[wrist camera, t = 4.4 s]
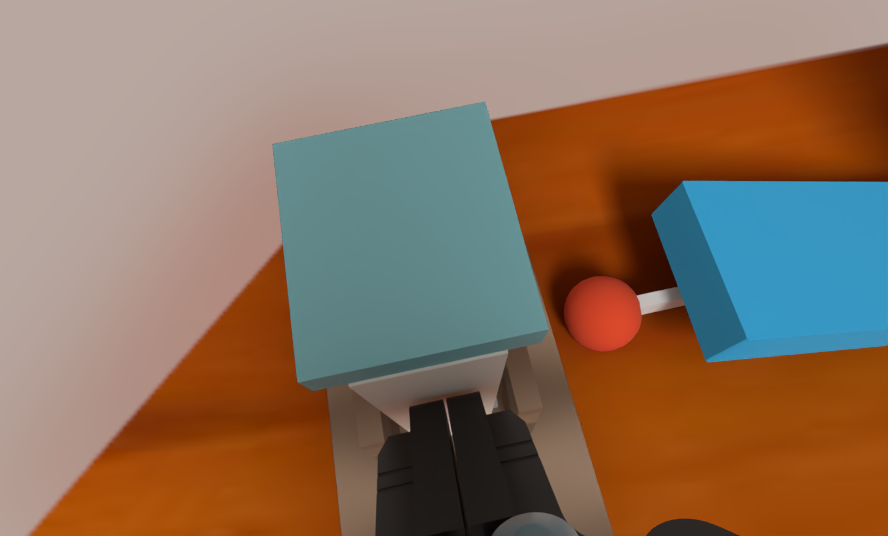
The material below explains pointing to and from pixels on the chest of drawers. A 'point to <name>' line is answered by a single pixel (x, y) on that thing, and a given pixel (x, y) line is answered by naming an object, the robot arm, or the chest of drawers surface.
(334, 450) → the catapult stand
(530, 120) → the chest of drawers surface
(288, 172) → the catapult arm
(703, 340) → the lever
